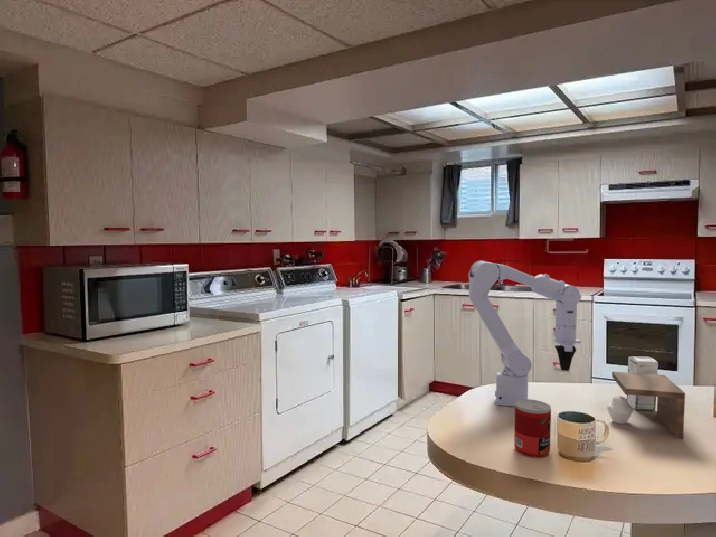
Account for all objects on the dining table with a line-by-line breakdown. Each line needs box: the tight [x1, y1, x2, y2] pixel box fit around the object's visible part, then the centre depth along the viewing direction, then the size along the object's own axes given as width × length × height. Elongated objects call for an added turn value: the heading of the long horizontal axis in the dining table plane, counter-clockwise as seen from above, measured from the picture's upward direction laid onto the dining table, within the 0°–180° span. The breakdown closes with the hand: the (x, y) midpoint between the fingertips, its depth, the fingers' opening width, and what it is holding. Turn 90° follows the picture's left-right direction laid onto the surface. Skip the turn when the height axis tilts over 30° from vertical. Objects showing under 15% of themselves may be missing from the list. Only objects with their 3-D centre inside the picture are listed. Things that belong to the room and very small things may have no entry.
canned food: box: [513, 398, 552, 459], centre depth 114 cm, size 8×8×11 cm
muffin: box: [606, 395, 634, 425], centre depth 132 cm, size 6×6×7 cm
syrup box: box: [626, 355, 659, 411], centre depth 142 cm, size 6×6×14 cm
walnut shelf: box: [611, 371, 686, 440], centre depth 130 cm, size 13×16×12 cm
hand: (564, 370), depth 146 cm, fingers closed
